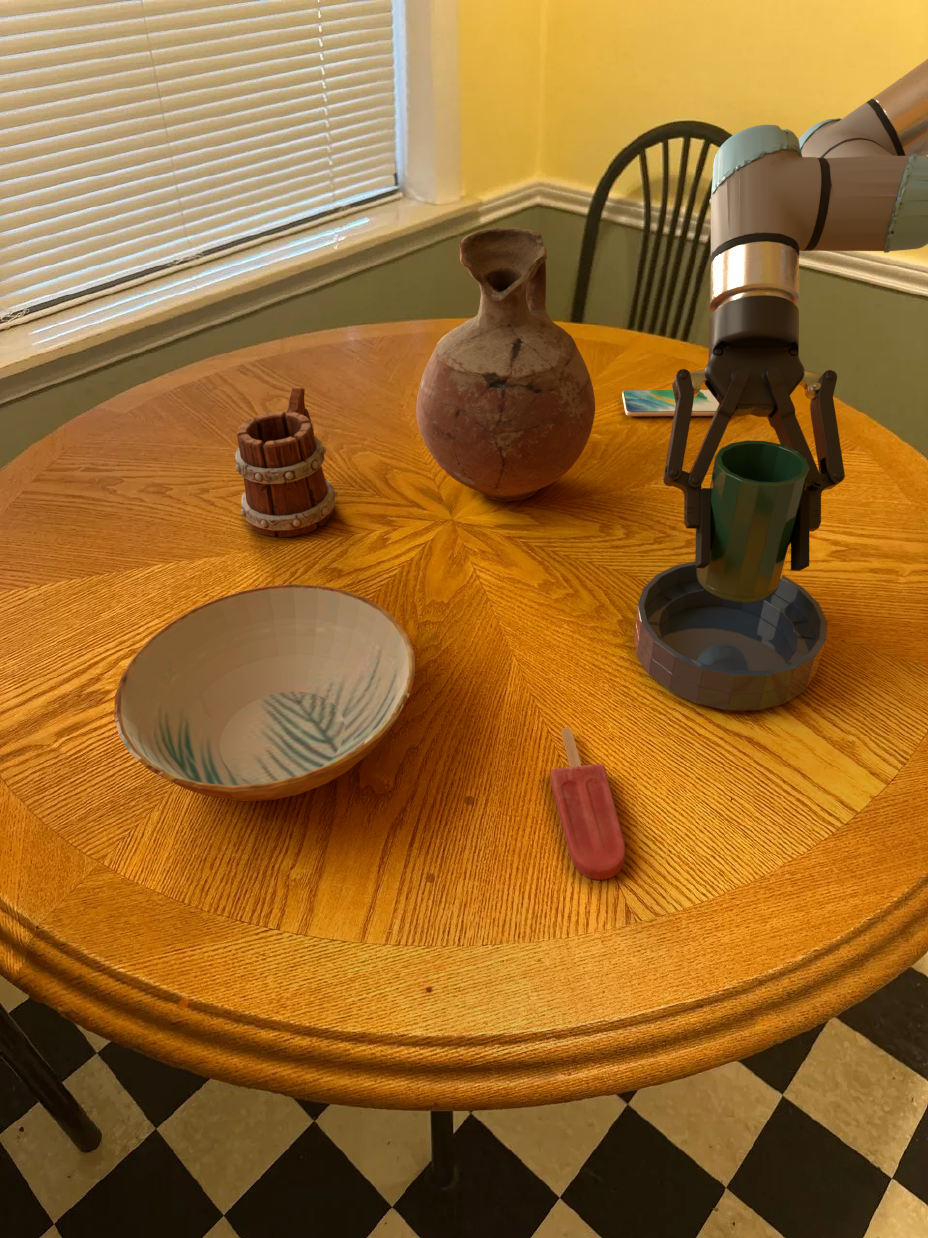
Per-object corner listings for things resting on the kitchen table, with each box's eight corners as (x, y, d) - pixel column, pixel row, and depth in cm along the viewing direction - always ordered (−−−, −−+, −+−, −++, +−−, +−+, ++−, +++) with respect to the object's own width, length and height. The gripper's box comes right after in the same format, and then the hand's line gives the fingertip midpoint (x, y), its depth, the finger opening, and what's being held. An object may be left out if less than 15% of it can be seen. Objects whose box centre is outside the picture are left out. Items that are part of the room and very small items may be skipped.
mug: (223, 538, 103) (204, 415, 95) (269, 495, 115) (255, 382, 107) (317, 546, 101) (305, 420, 93) (353, 501, 113) (345, 386, 105)
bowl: (450, 662, 85) (446, 599, 80) (373, 880, 66) (361, 815, 61) (217, 632, 90) (199, 570, 85) (83, 826, 71) (50, 762, 66)
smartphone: (732, 411, 122) (626, 412, 123) (731, 417, 123) (625, 417, 123) (724, 388, 127) (621, 389, 128) (723, 394, 128) (621, 394, 129)
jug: (399, 516, 106) (374, 263, 87) (448, 434, 122) (437, 206, 102) (574, 538, 101) (589, 275, 82) (601, 450, 117) (620, 213, 97)
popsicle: (590, 718, 76) (634, 865, 64) (589, 732, 77) (632, 878, 66) (540, 724, 76) (575, 872, 64) (539, 737, 77) (574, 885, 65)
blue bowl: (754, 584, 93) (763, 546, 90) (852, 691, 80) (866, 651, 77) (606, 616, 89) (610, 578, 86) (683, 733, 77) (691, 693, 73)
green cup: (752, 548, 82) (777, 434, 75) (795, 593, 77) (827, 475, 69) (681, 562, 81) (700, 448, 73) (720, 609, 75) (745, 491, 68)
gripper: (856, 328, 79) (857, 576, 77) (632, 328, 81) (626, 570, 78) (890, 290, 71) (891, 563, 69) (641, 290, 73) (636, 556, 71)
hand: (751, 566), depth 74 cm, fingers closed on green cup, 7 cm apart
